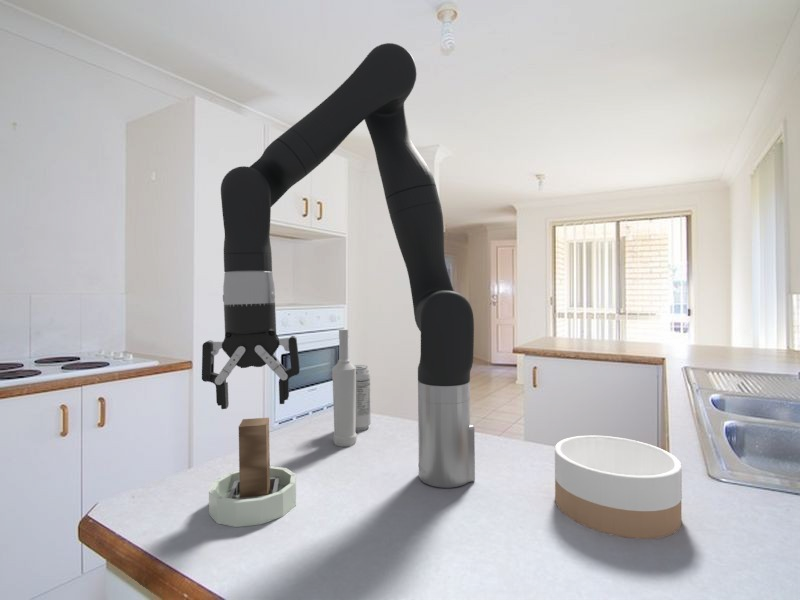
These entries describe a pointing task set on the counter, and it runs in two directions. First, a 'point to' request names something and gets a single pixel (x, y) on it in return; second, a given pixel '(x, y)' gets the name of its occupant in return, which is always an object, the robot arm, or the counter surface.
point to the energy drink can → (362, 398)
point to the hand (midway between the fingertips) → (253, 405)
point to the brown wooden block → (254, 457)
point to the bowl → (619, 486)
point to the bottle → (344, 395)
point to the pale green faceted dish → (252, 499)
